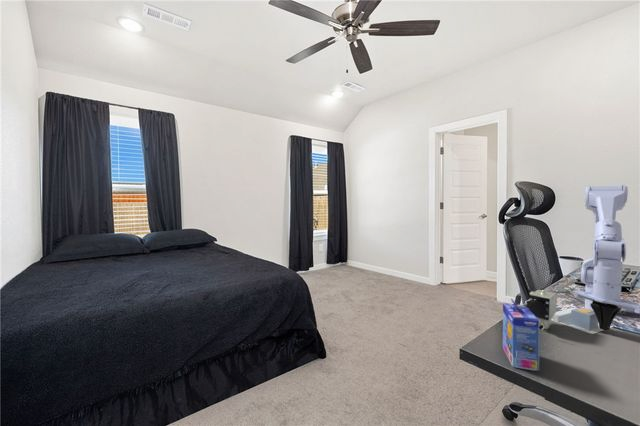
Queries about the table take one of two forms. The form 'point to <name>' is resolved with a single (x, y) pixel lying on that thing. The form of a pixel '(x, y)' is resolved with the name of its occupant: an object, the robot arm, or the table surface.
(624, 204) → the robot arm
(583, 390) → the table surface
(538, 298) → the pneumatic valve
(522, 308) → the ink cartridge box
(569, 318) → the rail board
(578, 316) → the block
